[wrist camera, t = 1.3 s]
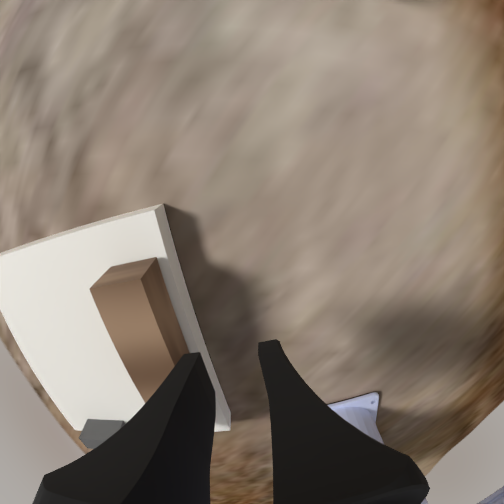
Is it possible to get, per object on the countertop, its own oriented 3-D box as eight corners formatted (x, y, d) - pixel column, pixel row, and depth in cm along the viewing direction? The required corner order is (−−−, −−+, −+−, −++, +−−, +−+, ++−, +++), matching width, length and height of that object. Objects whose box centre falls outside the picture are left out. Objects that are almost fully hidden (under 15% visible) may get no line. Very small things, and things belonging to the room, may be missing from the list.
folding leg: (219, 416, 20) (217, 447, 18) (177, 419, 21) (172, 449, 18) (160, 256, 16) (144, 278, 13) (108, 267, 16) (86, 289, 13)
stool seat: (230, 412, 23) (230, 453, 19) (81, 416, 24) (66, 447, 20) (163, 203, 18) (139, 220, 13) (-4, 254, 18) (-38, 275, 14)
